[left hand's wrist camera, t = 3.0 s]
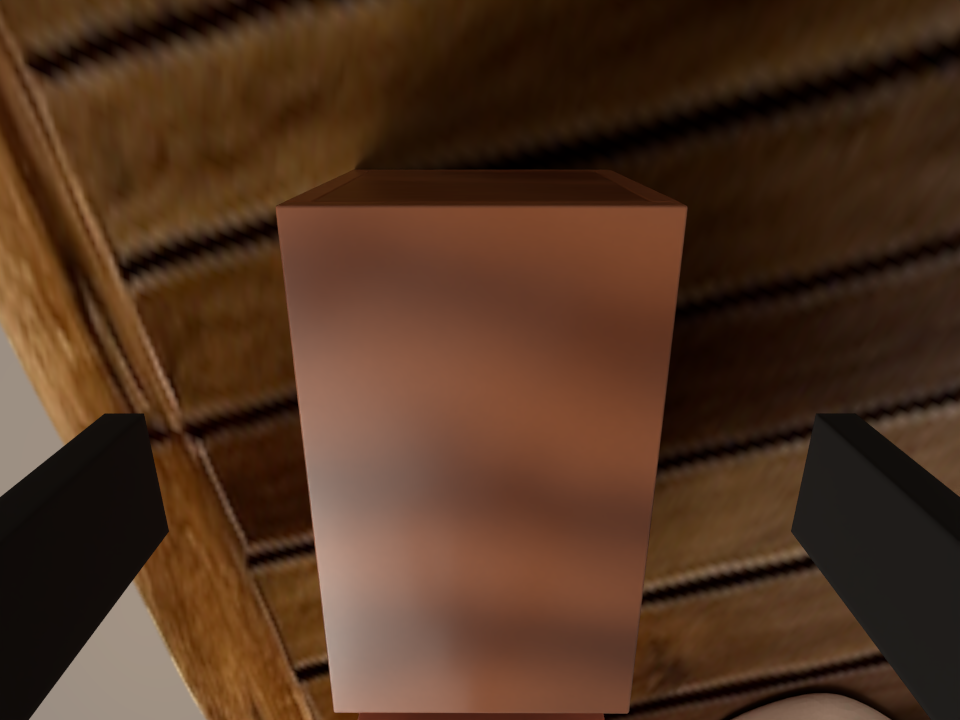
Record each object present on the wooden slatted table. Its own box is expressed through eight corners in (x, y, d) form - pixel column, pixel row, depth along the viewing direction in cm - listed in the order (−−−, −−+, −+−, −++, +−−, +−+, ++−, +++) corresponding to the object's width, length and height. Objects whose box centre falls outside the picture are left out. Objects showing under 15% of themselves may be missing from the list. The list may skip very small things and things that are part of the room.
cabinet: (584, 531, 35) (629, 714, 24) (378, 531, 35) (333, 713, 24) (610, 169, 28) (689, 205, 17) (352, 169, 28) (274, 205, 17)
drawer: (567, 662, 37) (594, 835, 28) (394, 662, 37) (367, 834, 28) (594, 265, 28) (645, 334, 19) (368, 265, 28) (318, 334, 20)
